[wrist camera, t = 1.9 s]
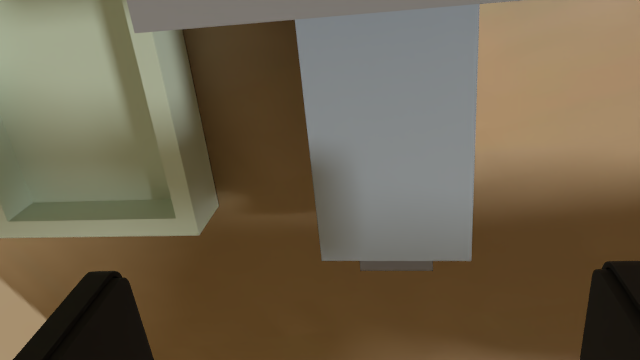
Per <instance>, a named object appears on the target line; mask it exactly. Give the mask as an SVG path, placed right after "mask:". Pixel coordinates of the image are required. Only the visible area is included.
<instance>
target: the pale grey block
mask: <svg viewBox="0 0 640 360" xmlns="http://www.w3.org/2000/svg"><path fill="white" fill-rule="evenodd" d="M295 26H296V35H297V44H298V53H299V62H300V71H301V80H302V89H303V98H304V106H305V115H306V124H307V133H308V142H309V151H310V160H311V169H312V178H313V187H314V195H315V204H316V213H317V222H318V231H319V240H320V249H321V258H322V261H360V271H433V261H471V258H472V226H473V194H474V162H475V130H476V98H477V66H478V34H479V4H472V5H461V6H449V7H437V8H426V9H414V10H402V11H390V12H379V13H367V14H355V15H344V16H332V17H320V18H309V19H297V20H295Z"/></svg>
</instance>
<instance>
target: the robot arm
mask: <svg viewBox="0 0 640 360" xmlns="http://www.w3.org/2000/svg"><path fill="white" fill-rule="evenodd" d="M13 360H154V359H153V355H152V352H151V349H150V346H149V343H148V340H147V337H146V333H145V330H144V327H143V324H142V321H141V318H140V315H139V311H138V308H137V305H136V302H135V299H134V296H133V293H132V289H131V286H130V283H129V281H128V280H127V279H126V278H122V276H121V274H120V273H119V272H116V271H96V272H89V273H87V274H86V275H85V276H84V277H83V279H82V280H81V281H80V282H79V283H78V284H77V286H76V287H75V288H74V289H73V290H72V291H71V293H70V294H69V295H68V296H67V297H66V298H65V300H64V301H63V302H62V303H61V304H60V305H59V307H58V308H57V309H56V310H55V311H54V312H53V314H52V315H51V316H50V317H49V318H48V319H47V321H46V322H45V323H44V324H43V325H42V326H41V328H40V329H39V330H38V331H37V332H36V334H35V335H34V336H33V337H32V338H31V339H30V341H29V342H28V343H27V344H26V345H25V347H23V349H22V350H21V351H20V352H19V353H18V354H17V356H16V357H15V358H14V359H13ZM580 360H640V261H609V262H605V263H604V265H603V267H602V269H597V270H594V272H593V275H592V281H591V287H590V294H589V301H588V308H587V315H586V321H585V328H584V335H583V342H582V349H581V356H580Z"/></svg>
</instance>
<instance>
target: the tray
mask: <svg viewBox="0 0 640 360" xmlns="http://www.w3.org/2000/svg"><path fill="white" fill-rule="evenodd" d="M218 207H219V204H218V199H217V195H216V190H215V185H214V180H213V175H212V171H211V166H210V161H209V156H208V151H207V146H206V142H205V137H204V132H203V127H202V122H201V117H200V113H199V108H198V103H197V98H196V93H195V88H194V84H193V79H192V74H191V69H190V64H189V60H188V55H187V50H186V45H185V40H184V35H183V31H182V29H180V30H168V31H157V32H145V33H134V29H133V25H132V21H131V17H130V13H129V9H128V5H127V0H0V238H44V237H123V236H199V235H200V234H201V232H202V231H203V229H204V228H205V226H206V225H207V223H208V222H209V220H210V219H211V217H212V216H213V214H214V213H215V211H216V210H217V208H218Z"/></svg>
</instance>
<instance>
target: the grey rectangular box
mask: <svg viewBox="0 0 640 360" xmlns="http://www.w3.org/2000/svg"><path fill="white" fill-rule="evenodd" d="M507 1H519V0H127V5H128V9H129V13H130V17H131V21H132V25H133V29H134V33H145V32H157V31H168V30H180V29H192V28H203V27H215V26H227V25H239V24H250V23H262V22H274V21H285V20H297V19H309V18H320V17H332V16H344V15H355V14H367V13H379V12H390V11H402V10H414V9H426V8H437V7H449V6H461V5H472V4H484V3H496V2H507Z"/></svg>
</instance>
